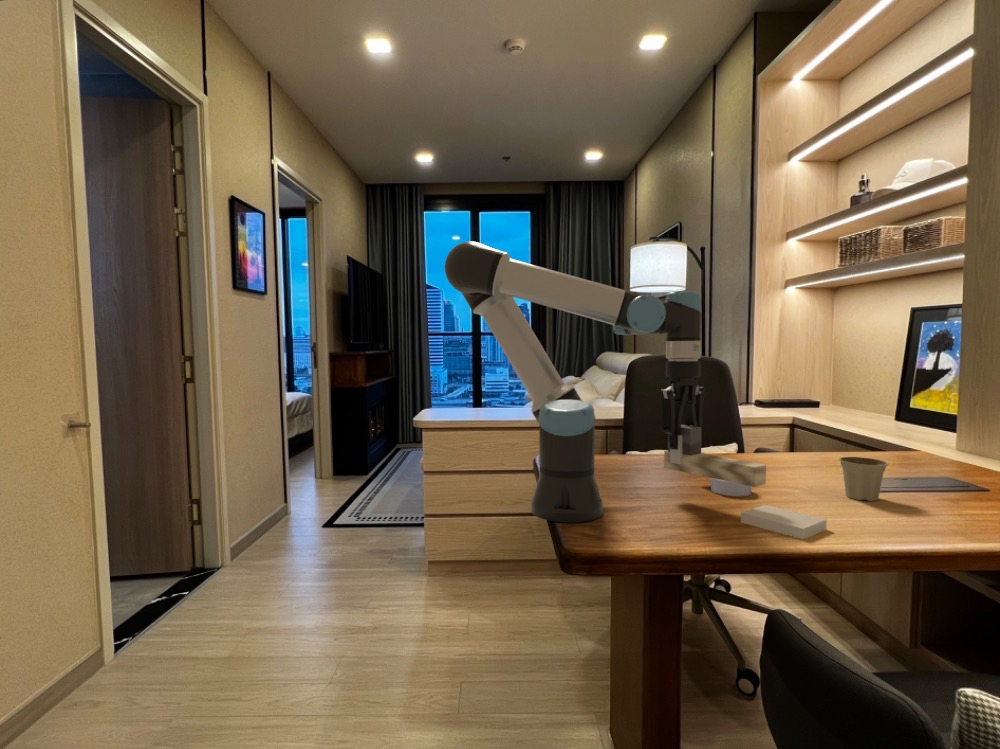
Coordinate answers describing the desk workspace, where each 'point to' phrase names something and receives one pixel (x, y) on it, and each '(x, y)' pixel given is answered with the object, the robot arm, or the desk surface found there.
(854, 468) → the flower pot
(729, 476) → the bar
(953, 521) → the desk surface
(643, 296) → the robot arm
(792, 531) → the tile
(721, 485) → the wedge on round base
